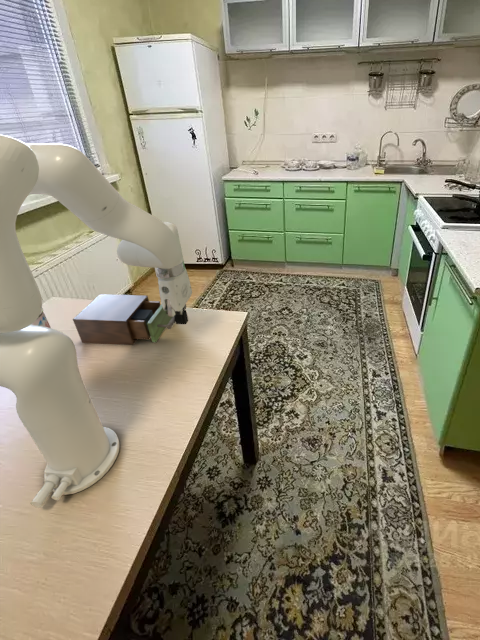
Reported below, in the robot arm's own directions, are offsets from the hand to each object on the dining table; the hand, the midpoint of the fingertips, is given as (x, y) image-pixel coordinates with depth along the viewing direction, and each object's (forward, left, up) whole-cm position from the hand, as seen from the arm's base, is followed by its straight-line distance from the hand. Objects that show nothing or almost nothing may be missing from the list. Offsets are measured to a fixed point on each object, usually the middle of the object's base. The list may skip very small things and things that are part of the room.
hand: (182, 322), depth 95 cm
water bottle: (-19, +26, -4) cm, 33 cm away
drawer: (0, +11, -3) cm, 11 cm away
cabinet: (0, +20, -4) cm, 21 cm away
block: (0, +12, -2) cm, 12 cm away
